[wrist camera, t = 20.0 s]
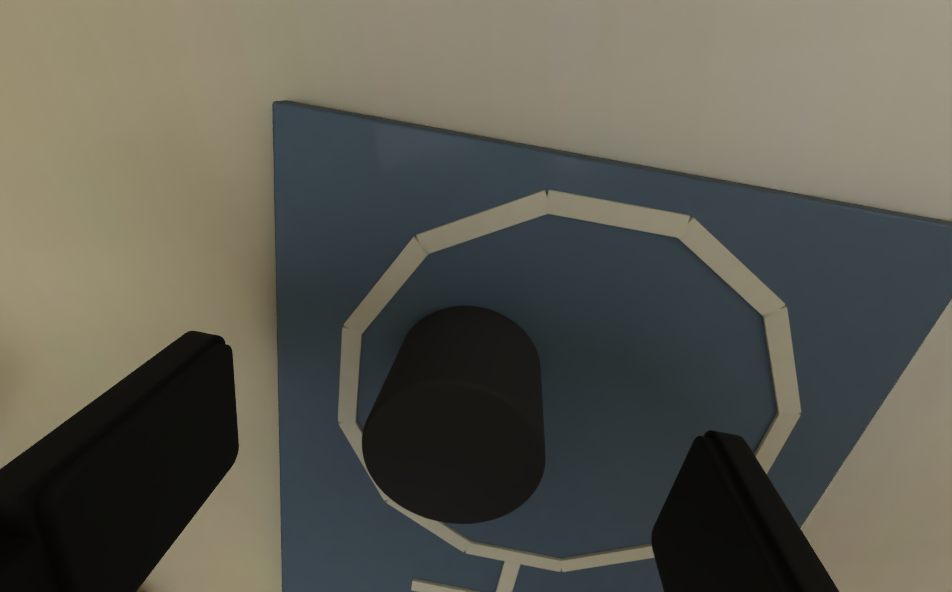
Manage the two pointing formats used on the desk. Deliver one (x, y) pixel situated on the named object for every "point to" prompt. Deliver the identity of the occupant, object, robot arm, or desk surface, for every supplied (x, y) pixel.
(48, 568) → the robot arm
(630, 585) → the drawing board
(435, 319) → the near black cylinder
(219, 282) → the desk surface
